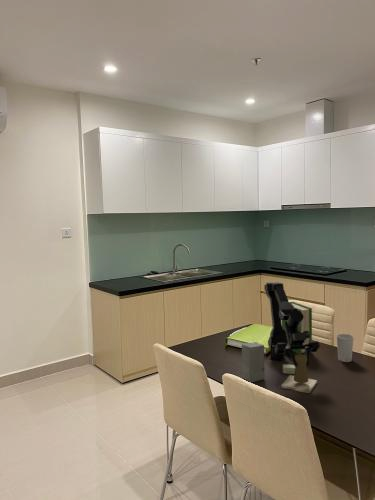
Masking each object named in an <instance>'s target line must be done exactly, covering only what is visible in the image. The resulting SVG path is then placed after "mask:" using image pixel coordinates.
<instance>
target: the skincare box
mask: <svg viewBox="0 0 375 500" xmlns="http://www.w3.org/2000/svg"><path fill="white" fill-rule="evenodd" d="M241 365H242V366H241V367H242V368H241V370H242V371H241V374H242V375H241V377H242V379H243V380H245V381H248V382H249V383H250V382H252V383H254V382H259V381H262V380H265V344H262V343H259V342H257V341H256V342H254V341H253V342H246V343H242V344H241Z"/></svg>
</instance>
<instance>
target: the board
mask: <svg viewBox="0 0 375 500" xmlns="http://www.w3.org/2000/svg"><path fill="white" fill-rule="evenodd" d="M317 383H318V380H316V379H312V378H308V382H306V383H298V382H296V381H294V375H293V374H289V375H288V377H287V378H286V379H285V380H284V381H283V382H282V384H281V387H280V388H283V389H288V390H292V391H295V392H296V391H297V392H301V393H306V394H311V392H312V391H313V390H314V388H315V386H316V385H317Z"/></svg>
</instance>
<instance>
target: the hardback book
mask: <svg viewBox="0 0 375 500" xmlns="http://www.w3.org/2000/svg"><path fill="white" fill-rule="evenodd" d="M289 303H290V304H292V305H293V306H294V308H297V311H300V312H301V313H302V314H303V320H302V322H301V324H300V326H299V327H298V329H299V332H301V333H303V331H309V334H310V338H306V340H304V341H305V342H304V343H303V345H305V344H308V343H309V341H313V308H312V307H309V306H307V305H304V304H301V303H297V302H296V301H289ZM286 321H287V320H281V324H282V328H283V329H284V330H285V328H284V324H285V322H286ZM285 331H286V330H285ZM286 336H287V334H286ZM287 345H289V341H288V343H287ZM293 353H295V354H296V355H297V354H303V353H304V349H298V350H293ZM312 353H313V352H311V353H310V354H312Z"/></svg>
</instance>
